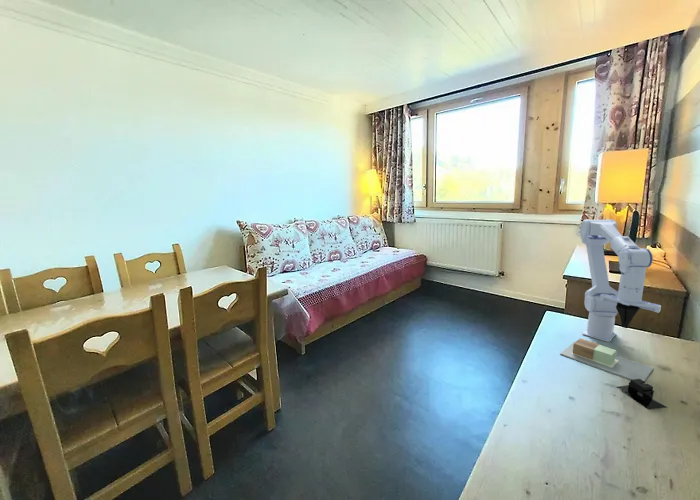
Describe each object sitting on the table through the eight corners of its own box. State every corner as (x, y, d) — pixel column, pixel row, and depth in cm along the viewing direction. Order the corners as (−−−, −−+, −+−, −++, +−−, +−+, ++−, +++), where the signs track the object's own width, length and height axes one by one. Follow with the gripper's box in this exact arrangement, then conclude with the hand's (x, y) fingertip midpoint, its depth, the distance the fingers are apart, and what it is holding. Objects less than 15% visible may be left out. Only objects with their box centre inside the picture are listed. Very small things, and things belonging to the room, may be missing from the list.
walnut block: (578, 347, 110) (579, 338, 109) (598, 354, 106) (599, 344, 105) (572, 353, 107) (573, 343, 106) (592, 359, 102) (593, 349, 102)
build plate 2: (676, 413, 80) (679, 397, 79) (650, 416, 79) (653, 400, 78) (628, 382, 92) (631, 368, 91) (605, 385, 91) (608, 371, 90)
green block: (597, 354, 105) (598, 344, 105) (614, 360, 102) (616, 350, 101) (592, 359, 103) (593, 349, 102) (610, 365, 99) (611, 355, 98)
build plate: (574, 342, 114) (574, 341, 114) (653, 368, 97) (653, 367, 97) (560, 354, 107) (560, 353, 107) (642, 384, 90) (642, 383, 90)
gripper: (598, 284, 103) (594, 323, 106) (659, 295, 92) (652, 338, 94) (605, 279, 107) (601, 317, 110) (665, 289, 96) (658, 331, 99)
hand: (625, 326), depth 102 cm, fingers closed
